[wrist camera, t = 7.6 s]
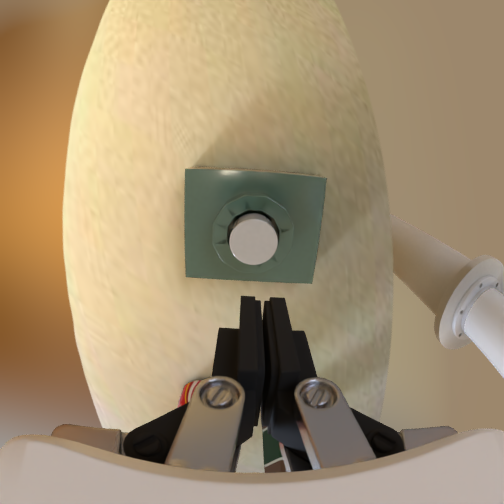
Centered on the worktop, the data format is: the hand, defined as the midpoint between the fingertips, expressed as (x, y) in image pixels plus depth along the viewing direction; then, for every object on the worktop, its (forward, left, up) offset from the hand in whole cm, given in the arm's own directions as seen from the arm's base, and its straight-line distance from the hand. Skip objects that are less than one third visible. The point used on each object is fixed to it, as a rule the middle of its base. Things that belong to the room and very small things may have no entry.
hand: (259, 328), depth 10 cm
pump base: (0, 0, -17) cm, 17 cm away
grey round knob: (0, 0, -12) cm, 12 cm away
